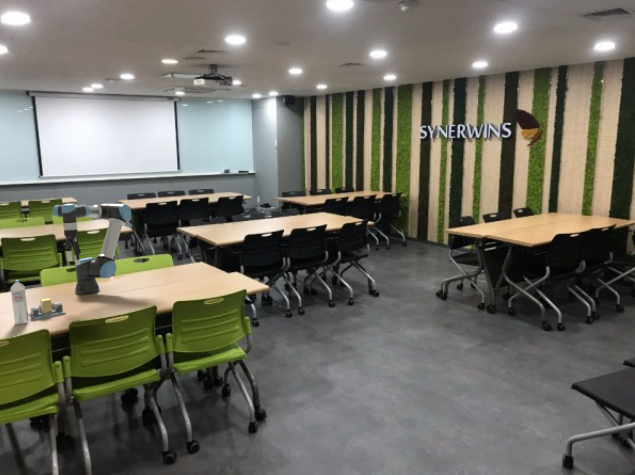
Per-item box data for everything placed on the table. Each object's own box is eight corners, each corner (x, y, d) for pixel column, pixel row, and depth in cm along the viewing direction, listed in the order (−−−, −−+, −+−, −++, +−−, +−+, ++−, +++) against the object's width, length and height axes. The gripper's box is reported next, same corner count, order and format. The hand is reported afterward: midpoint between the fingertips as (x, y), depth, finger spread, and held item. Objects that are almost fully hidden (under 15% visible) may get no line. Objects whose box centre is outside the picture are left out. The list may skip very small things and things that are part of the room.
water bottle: (31, 320, 287) (26, 278, 283) (24, 325, 281) (19, 281, 276) (19, 321, 287) (13, 278, 283) (12, 325, 280) (7, 282, 276)
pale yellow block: (49, 310, 301) (48, 298, 300) (52, 312, 298) (50, 299, 297) (41, 312, 298) (40, 299, 297) (44, 314, 295) (42, 301, 294)
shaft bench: (28, 314, 298) (27, 304, 297) (57, 308, 309) (56, 298, 308) (36, 320, 288) (34, 309, 287) (65, 313, 299) (64, 303, 298)
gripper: (57, 227, 315) (60, 260, 318) (71, 232, 297) (74, 267, 301) (69, 226, 320) (73, 258, 324) (84, 230, 302) (87, 265, 306)
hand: (73, 263), depth 312 cm, fingers open, 13 cm apart
